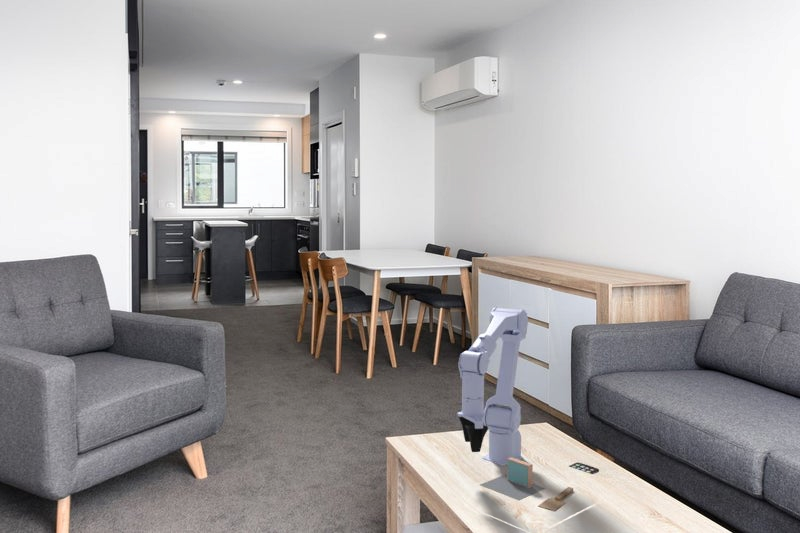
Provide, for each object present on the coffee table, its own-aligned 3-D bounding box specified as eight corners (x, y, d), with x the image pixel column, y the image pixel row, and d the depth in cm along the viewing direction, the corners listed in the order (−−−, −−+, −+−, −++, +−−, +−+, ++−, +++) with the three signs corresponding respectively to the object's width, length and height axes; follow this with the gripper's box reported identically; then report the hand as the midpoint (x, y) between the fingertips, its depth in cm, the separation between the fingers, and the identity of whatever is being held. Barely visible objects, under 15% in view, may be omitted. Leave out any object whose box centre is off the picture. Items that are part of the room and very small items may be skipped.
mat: (506, 475, 195) (506, 473, 195) (545, 489, 185) (545, 488, 185) (479, 486, 188) (479, 484, 188) (518, 501, 178) (518, 500, 178)
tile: (511, 478, 192) (511, 457, 191) (532, 486, 186) (532, 464, 186) (506, 480, 190) (507, 458, 190) (527, 488, 185) (528, 466, 185)
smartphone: (546, 475, 194) (577, 461, 204) (546, 478, 194) (577, 464, 204) (569, 484, 189) (600, 469, 199) (569, 486, 189) (600, 471, 199)
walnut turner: (562, 489, 186) (562, 485, 186) (578, 494, 183) (578, 489, 183) (538, 508, 175) (538, 503, 174) (554, 513, 172) (554, 508, 172)
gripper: (452, 389, 194) (452, 437, 195) (464, 405, 180) (463, 457, 181) (477, 388, 195) (477, 436, 196) (491, 403, 180) (490, 455, 182)
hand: (472, 446), depth 189 cm, fingers open, 7 cm apart
